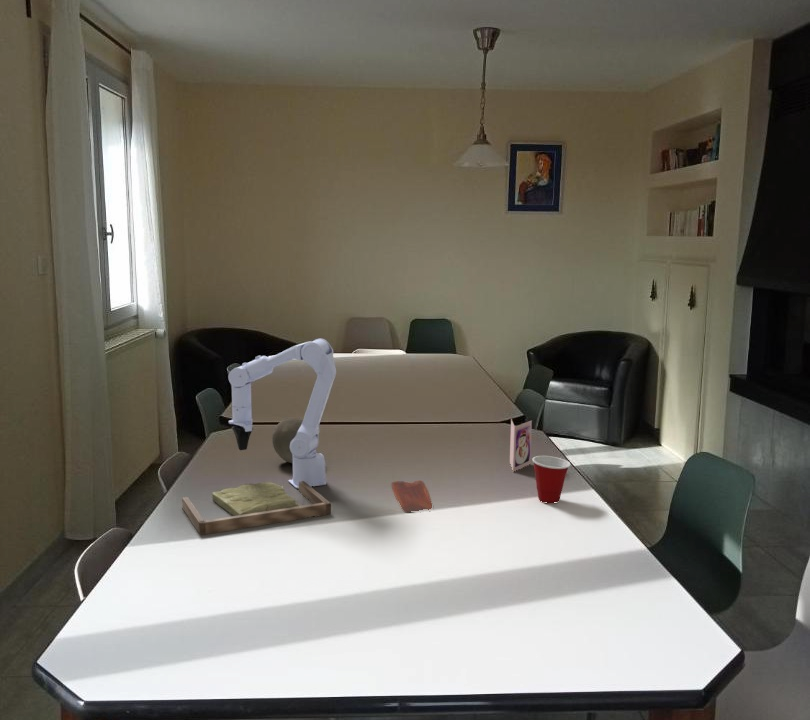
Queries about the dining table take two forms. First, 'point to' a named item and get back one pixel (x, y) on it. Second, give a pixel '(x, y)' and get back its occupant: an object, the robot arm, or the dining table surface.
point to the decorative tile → (253, 498)
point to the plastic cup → (550, 477)
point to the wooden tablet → (412, 495)
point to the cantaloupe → (285, 437)
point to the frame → (259, 514)
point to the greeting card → (520, 445)
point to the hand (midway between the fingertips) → (242, 449)
